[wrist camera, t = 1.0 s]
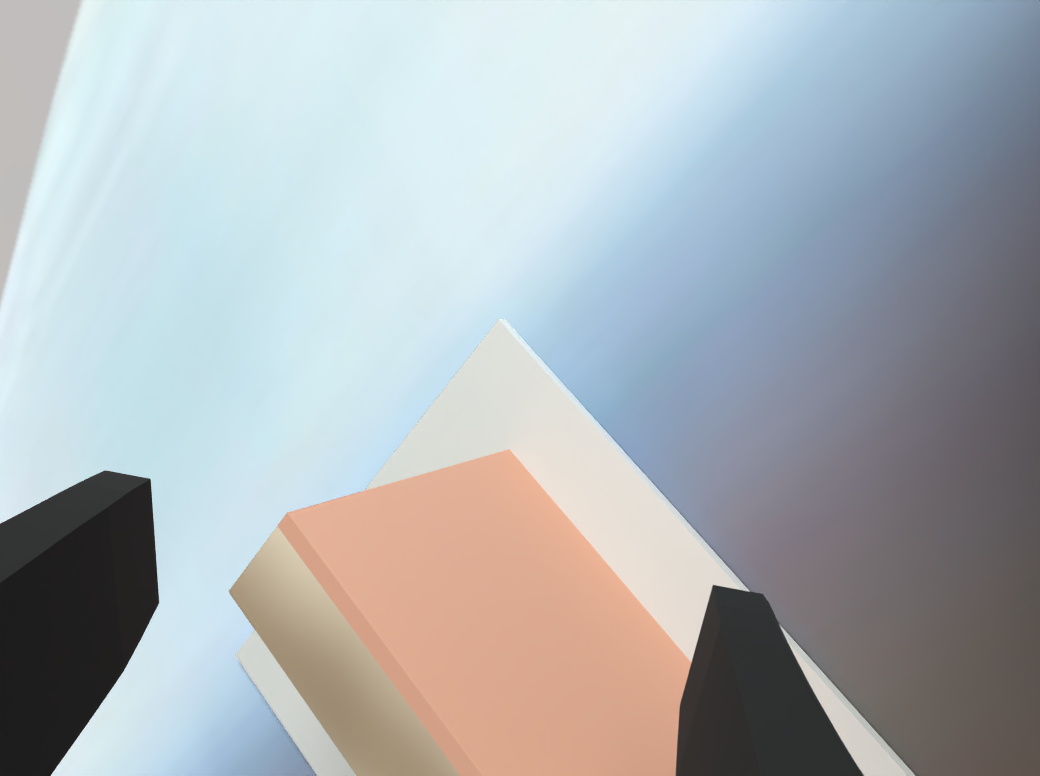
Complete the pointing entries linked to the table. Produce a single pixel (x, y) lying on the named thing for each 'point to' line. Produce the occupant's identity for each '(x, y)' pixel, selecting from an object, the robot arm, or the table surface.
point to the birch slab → (465, 632)
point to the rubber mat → (589, 506)
